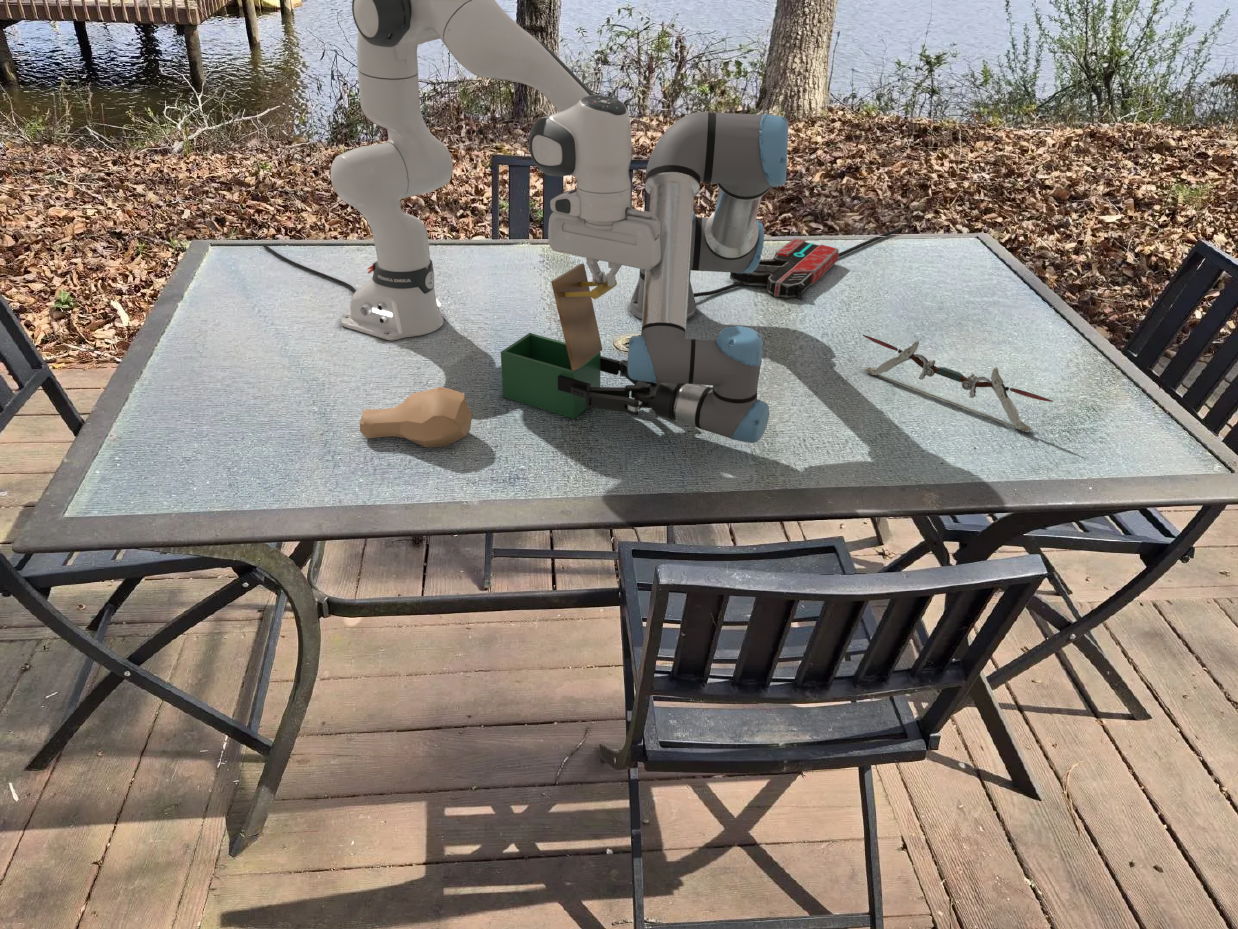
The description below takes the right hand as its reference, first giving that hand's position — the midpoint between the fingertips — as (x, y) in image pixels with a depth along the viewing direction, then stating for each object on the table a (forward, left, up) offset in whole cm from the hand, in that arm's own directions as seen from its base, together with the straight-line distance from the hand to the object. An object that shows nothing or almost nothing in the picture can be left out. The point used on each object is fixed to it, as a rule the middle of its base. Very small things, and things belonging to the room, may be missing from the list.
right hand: (573, 370), depth 164 cm
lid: (0, 0, +11) cm, 11 cm away
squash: (+25, -17, -7) cm, 31 cm away
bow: (-39, +61, -7) cm, 73 cm away
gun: (-85, +12, -7) cm, 86 cm away
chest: (0, -5, -7) cm, 9 cm away
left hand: (0, +6, +19) cm, 19 cm away
